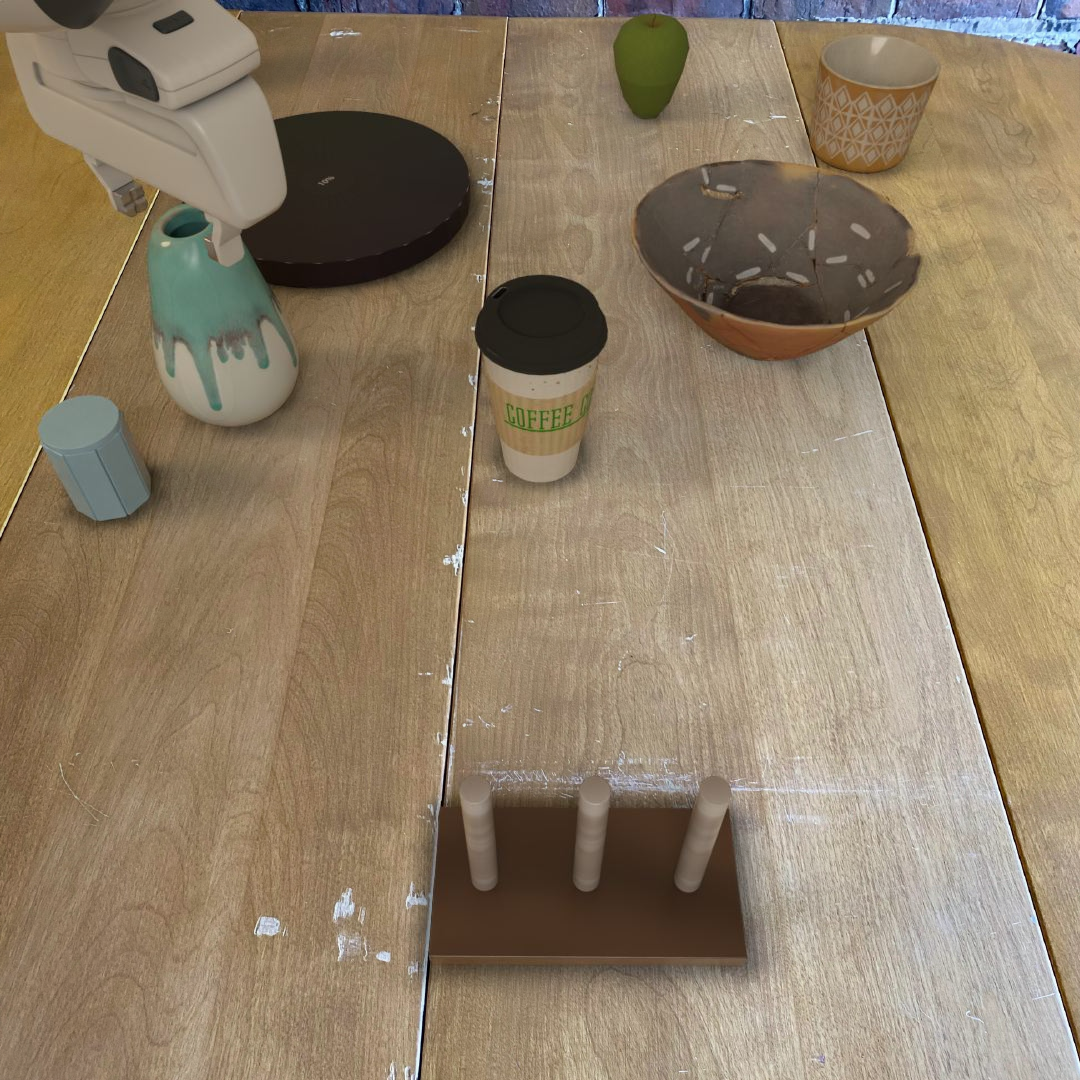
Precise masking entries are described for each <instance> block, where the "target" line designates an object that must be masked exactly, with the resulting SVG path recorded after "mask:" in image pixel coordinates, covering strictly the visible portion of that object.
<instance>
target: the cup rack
mask: <svg viewBox="0 0 1080 1080" xmlns="http://www.w3.org/2000/svg"><path fill="white" fill-rule="evenodd" d="M578 789H579V790H578V802H577V803H578V804H577V807H571V806H570V807H567V806H565V807H564V806H563V807H561V806H557V807H556V806H555V807H554V806H553V807H550V806H549V807H547V806H526V807H525V806H493V804H494V803H493V791H492V784H491V783H490V781H489V779H487V777H485V776H484V775H481V774H471V775H468V776H467V777H465V778H464V779H463V780H462V781H461V783H460V785H459V789H458V791H459V798H460V806H440V807H439V812H438V825H437V826H438V827H437V839H436V855H435V866H434V879H433V881H434V882H433V893H432V894H433V895H432V906H431V907H432V909H431V919H430V920H431V922H430V933H429V934H430V935H429V947H428V949H429V950H428V957H429V962H430V964H431V965H461V966H462V965H466V966H467V965H469V966H470V965H471V966H472V965H473V966H477V965H478V966H479V965H481V966H482V965H484V966H485V965H487V966H489V965H490V966H629V967H630V966H633V967H635V966H637V967H638V966H639V967H640V966H644V967H647V966H648V967H744V965H745V963H746V962H747V960H748V952H747V944H746V935H745V927H744V920H743V912H742V903H741V897H740V896H741V894H740V887H739V881H738V880H739V878H738V870H737V863H736V855H735V847H734V838H733V830H732V822H731V821H732V820H731V814H730V813H731V812H730V809H729V808H728V806H729V804H730V801H731V798H732V788H731V785H730V784H729V782H728V781H727V780H726V779H724V778H722V777H721V776H716V775H711V776H707V777H705V778H704V779H703V780H702V781H701V782H700V783H699V787H698V791H697V795H696V798H695V800H694V801H695V802H694V805H693V807H611V806H610V804H611V797H612V787H611V784H610V782H608V780H607V779H606V778H604V777H602V776H600V775H589V776H588V777H587V776H586V778H584V779H583V780H582V781H581V783H580V785H579V788H578Z"/></svg>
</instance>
